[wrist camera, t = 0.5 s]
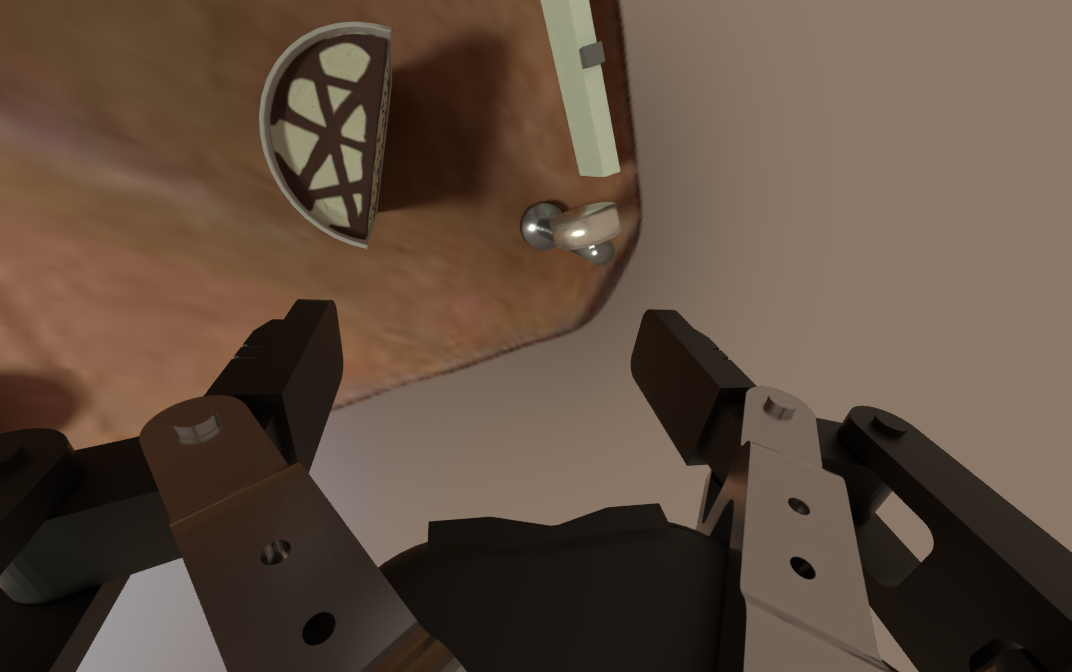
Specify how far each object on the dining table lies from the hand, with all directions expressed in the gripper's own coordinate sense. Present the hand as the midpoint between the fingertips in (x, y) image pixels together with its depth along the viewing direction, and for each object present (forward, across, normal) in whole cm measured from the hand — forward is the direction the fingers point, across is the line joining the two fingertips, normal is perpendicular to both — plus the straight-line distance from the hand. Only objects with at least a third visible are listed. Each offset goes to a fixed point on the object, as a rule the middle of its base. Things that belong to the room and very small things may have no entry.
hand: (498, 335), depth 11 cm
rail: (+29, -8, -7) cm, 31 cm away
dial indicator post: (+27, -7, +5) cm, 28 cm away
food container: (+27, +9, -1) cm, 28 cm away
